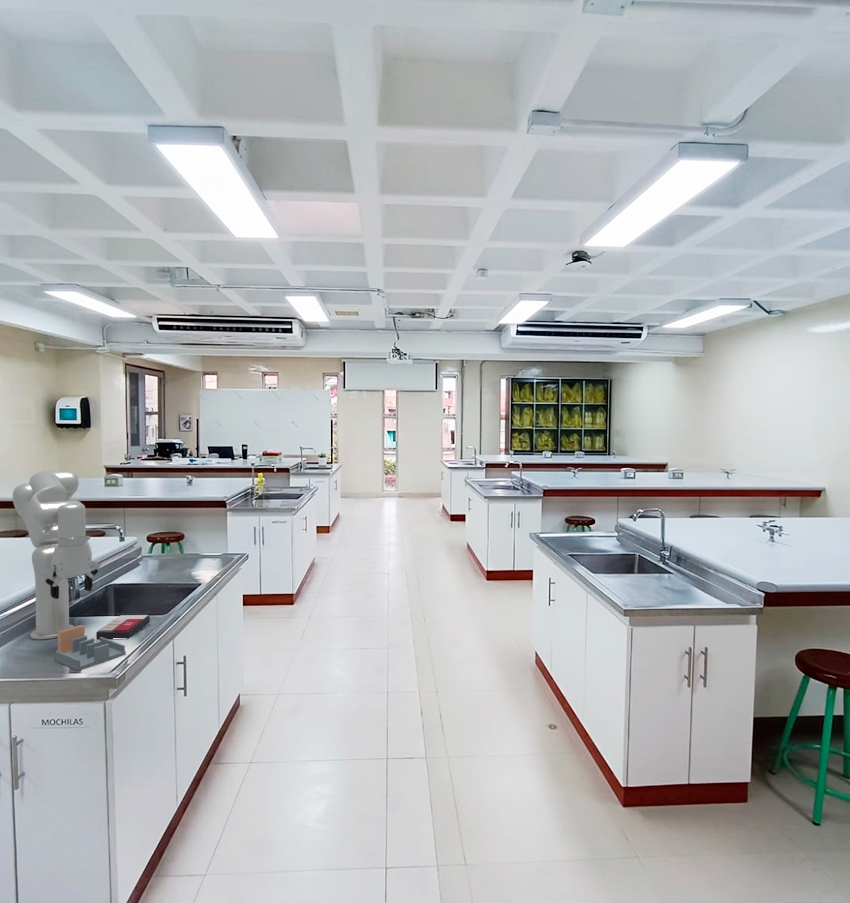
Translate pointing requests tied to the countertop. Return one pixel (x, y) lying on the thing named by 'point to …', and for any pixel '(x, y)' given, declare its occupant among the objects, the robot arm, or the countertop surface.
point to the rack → (89, 653)
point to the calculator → (123, 626)
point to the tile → (69, 638)
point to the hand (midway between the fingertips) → (72, 594)
